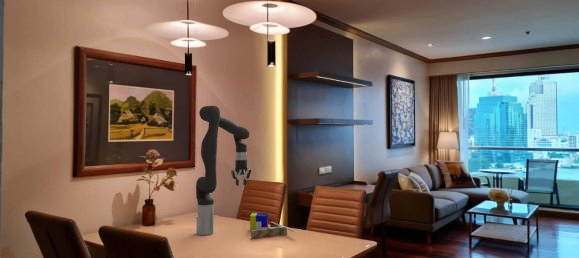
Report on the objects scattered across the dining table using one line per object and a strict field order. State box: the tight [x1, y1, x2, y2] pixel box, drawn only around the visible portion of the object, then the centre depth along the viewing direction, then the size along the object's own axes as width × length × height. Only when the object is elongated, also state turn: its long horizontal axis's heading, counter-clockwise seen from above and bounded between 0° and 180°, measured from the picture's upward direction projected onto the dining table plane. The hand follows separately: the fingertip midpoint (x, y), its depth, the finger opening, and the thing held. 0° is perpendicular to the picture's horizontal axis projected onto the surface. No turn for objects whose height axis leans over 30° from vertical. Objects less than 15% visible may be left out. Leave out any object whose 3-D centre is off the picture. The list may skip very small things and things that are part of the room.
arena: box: [250, 221, 296, 240], centre depth 238 cm, size 22×28×5 cm
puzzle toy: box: [249, 212, 269, 234], centre depth 250 cm, size 10×10×10 cm
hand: (241, 185), depth 269 cm, fingers open, 4 cm apart
